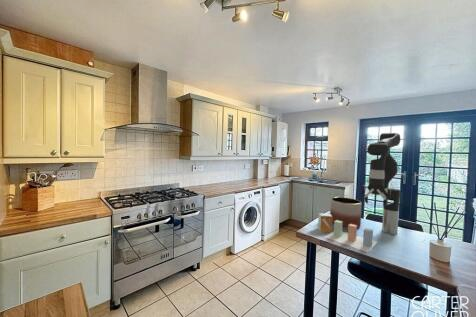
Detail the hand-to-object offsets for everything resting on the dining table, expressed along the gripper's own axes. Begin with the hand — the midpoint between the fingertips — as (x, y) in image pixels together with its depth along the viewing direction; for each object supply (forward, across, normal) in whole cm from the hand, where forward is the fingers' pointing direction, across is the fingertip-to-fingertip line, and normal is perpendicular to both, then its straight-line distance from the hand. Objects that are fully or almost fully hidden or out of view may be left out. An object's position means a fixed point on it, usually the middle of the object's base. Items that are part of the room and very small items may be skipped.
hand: (375, 204), depth 120 cm
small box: (+29, +31, -8) cm, 43 cm away
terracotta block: (+28, +12, -5) cm, 31 cm away
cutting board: (+29, +13, -5) cm, 32 cm away
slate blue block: (+28, +3, -4) cm, 28 cm away
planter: (+29, +25, -36) cm, 53 cm away
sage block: (+28, +21, -6) cm, 35 cm away
